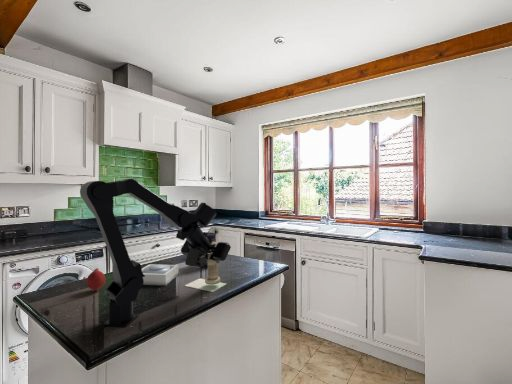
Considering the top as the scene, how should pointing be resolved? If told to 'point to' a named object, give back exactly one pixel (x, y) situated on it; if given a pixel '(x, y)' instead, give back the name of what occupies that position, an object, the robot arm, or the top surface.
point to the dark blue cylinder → (212, 236)
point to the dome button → (157, 269)
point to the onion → (95, 280)
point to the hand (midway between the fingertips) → (214, 261)
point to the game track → (205, 285)
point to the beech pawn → (212, 271)
